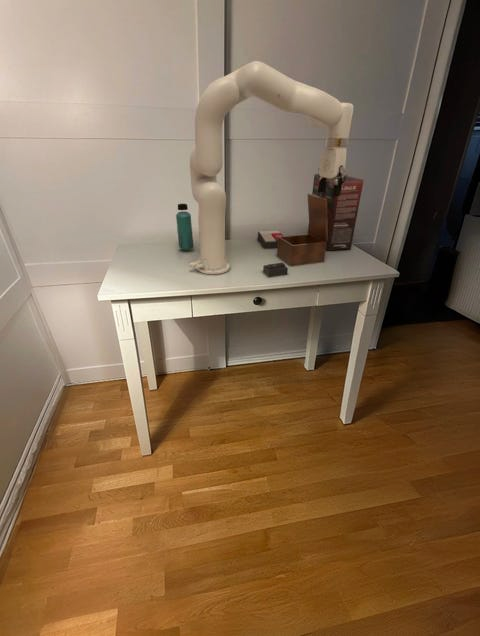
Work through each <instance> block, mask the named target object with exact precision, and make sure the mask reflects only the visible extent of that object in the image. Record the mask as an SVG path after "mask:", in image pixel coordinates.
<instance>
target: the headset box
mask: <svg viewBox="0 0 480 636" xmlns="http://www.w3.org/2000/svg"><path fill="white" fill-rule="evenodd" d="M318 174H319V173H314V174H313V183H312V193H311V194H312V195H315V196H319V197H321V196H322V195H325V196H328V197H331V198H333V201H332V203H328V202H327V222H328V241H326V242H327V245H326V251H341V250H351V249H352V246H353V240H354V234H355V228H356V224H357V217H358V212H359V207H360V203H361V198H362V197H361V196H362V192H363V186H364V182H365V180H364V179H362V178H357V177H353V176H349V175H347V177H346V179H345V181H344V183H343V185H342V187H341V193H340V196H336V197H333V196H332V193H333V187H334V185H335V182H334V178H333V179H329V178H327V180H326V181H327V184H326V191H325V192H318V187H319V176H318ZM337 180H339V179H337ZM307 234H311V233H310V228H309V225H308V228H307ZM312 235H313V234H312ZM314 236H315V235H314ZM316 237H317V236H316ZM318 238H319V237H318ZM320 239H321V238H320ZM322 240H323V239H322ZM324 241H325V240H324Z"/></svg>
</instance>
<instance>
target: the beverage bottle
mask: <svg viewBox="0 0 480 636" xmlns="http://www.w3.org/2000/svg"><path fill="white" fill-rule="evenodd" d="M188 207H189V206H188V204H187V203H178V204H177V210H178V212H177V213H176V215H175V218H176V230H177V232H176V233H177V239H178V240H177V241H178V247H179V250H184V251H185V250H186V251H187V250H192V249H193V248H194V238H193V226H192V225H193V224H192V214H191V213H190V212H189V211H187V210H189V208H188Z"/></svg>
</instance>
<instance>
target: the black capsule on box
mask: <svg viewBox="0 0 480 636" xmlns="http://www.w3.org/2000/svg"><path fill="white" fill-rule="evenodd" d="M288 270H289V268H288V267H287V266H286V263H285V262H282V261H281V262H276V263H268V264H264V265H263V267H262V272H263V274H265V275H266V276H267V277H268V278H274V277H278V276H279V277H280V276H286V275H288Z"/></svg>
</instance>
